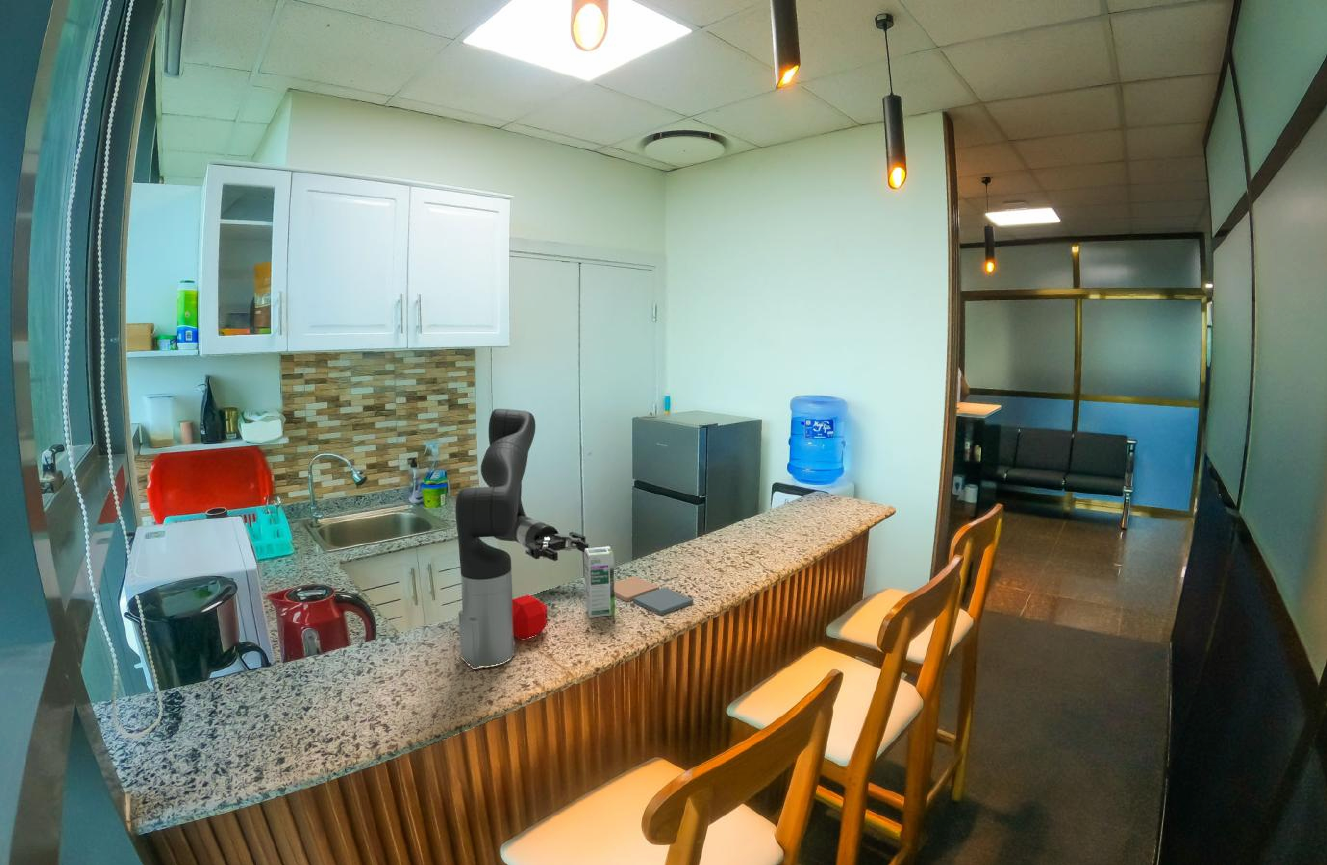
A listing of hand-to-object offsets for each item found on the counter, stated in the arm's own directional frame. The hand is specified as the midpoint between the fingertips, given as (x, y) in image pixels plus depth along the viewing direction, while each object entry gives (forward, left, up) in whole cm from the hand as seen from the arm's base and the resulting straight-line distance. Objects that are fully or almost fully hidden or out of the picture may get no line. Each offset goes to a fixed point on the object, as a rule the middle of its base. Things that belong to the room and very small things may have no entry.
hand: (572, 552), depth 148 cm
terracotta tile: (+13, -6, -11) cm, 18 cm away
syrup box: (0, -11, -11) cm, 16 cm away
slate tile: (+14, -17, -11) cm, 24 cm away
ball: (-18, -10, -11) cm, 24 cm away
